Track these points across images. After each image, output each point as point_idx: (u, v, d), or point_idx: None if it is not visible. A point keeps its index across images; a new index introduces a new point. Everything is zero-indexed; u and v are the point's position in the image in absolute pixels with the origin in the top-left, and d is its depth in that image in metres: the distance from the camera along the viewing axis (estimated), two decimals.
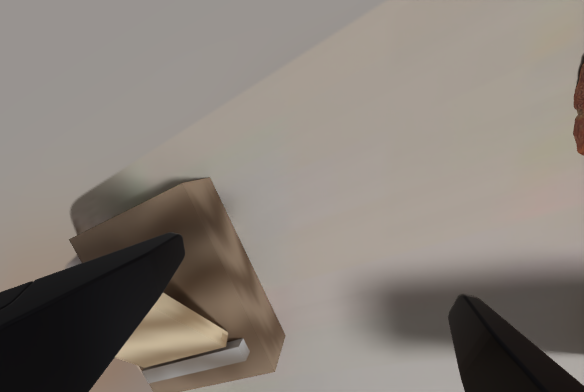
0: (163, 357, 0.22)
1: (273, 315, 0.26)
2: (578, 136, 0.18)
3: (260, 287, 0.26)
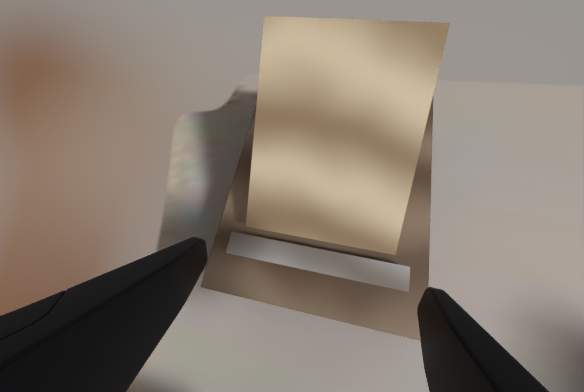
0: (298, 221, 0.16)
1: None
2: None
3: None
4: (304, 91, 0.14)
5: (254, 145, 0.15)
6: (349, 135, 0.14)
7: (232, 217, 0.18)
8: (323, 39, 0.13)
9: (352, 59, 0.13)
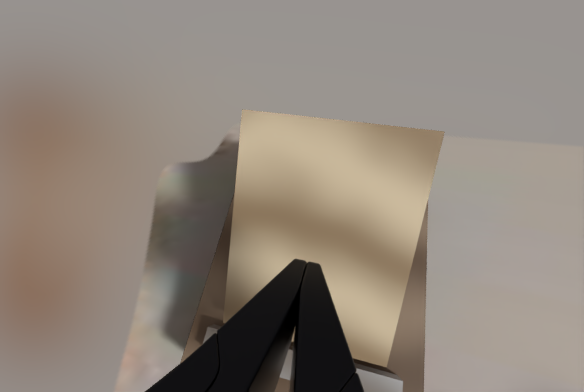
0: None
1: None
2: None
3: None
4: (285, 189, 0.13)
5: (232, 240, 0.14)
6: (335, 238, 0.13)
7: (210, 303, 0.17)
8: (306, 138, 0.12)
9: (338, 161, 0.12)
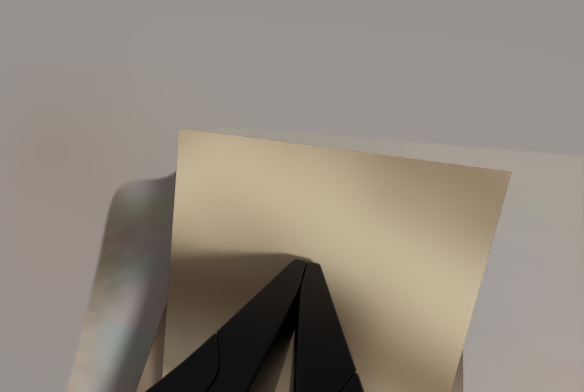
0: None
1: None
2: None
3: None
4: (247, 254, 0.08)
5: (168, 326, 0.09)
6: None
7: None
8: (278, 175, 0.07)
9: (329, 214, 0.07)
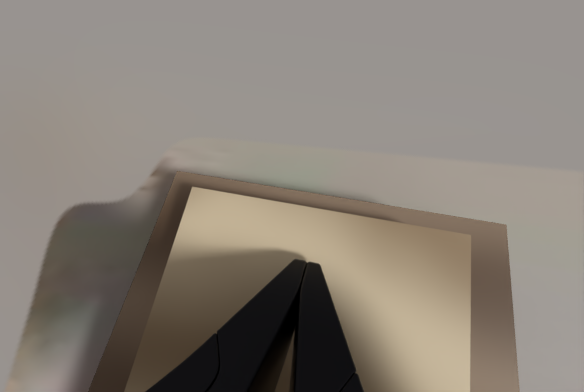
0: None
1: None
2: None
3: None
4: (235, 310, 0.08)
5: None
6: None
7: None
8: (274, 230, 0.08)
9: None
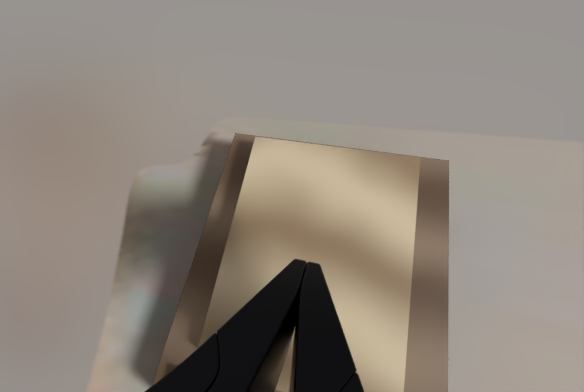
0: None
1: None
2: None
3: None
4: (286, 201, 0.14)
5: (225, 253, 0.13)
6: (333, 250, 0.13)
7: (179, 346, 0.13)
8: (307, 159, 0.14)
9: (335, 178, 0.14)
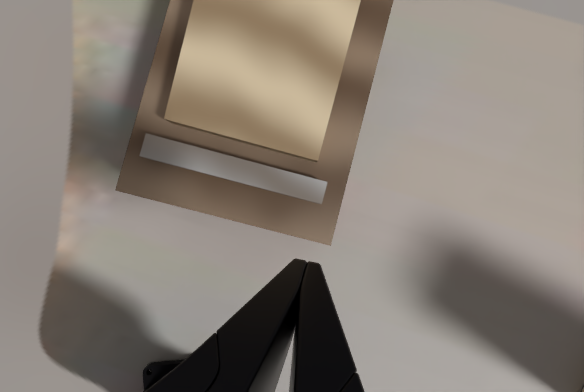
0: (224, 118, 0.15)
1: None
2: None
3: None
4: None
5: (187, 31, 0.14)
6: (284, 37, 0.15)
7: (149, 118, 0.16)
8: None
9: None
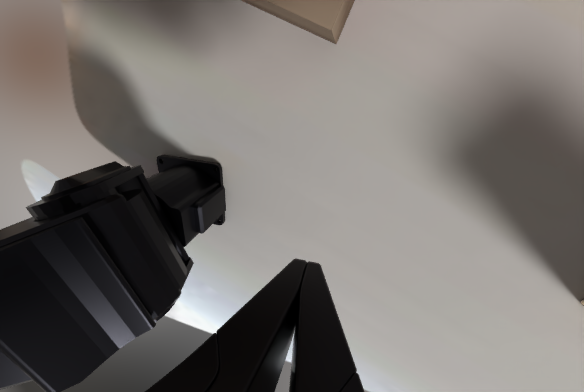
0: None
1: None
2: None
3: None
4: None
5: None
6: None
7: None
8: None
9: None
